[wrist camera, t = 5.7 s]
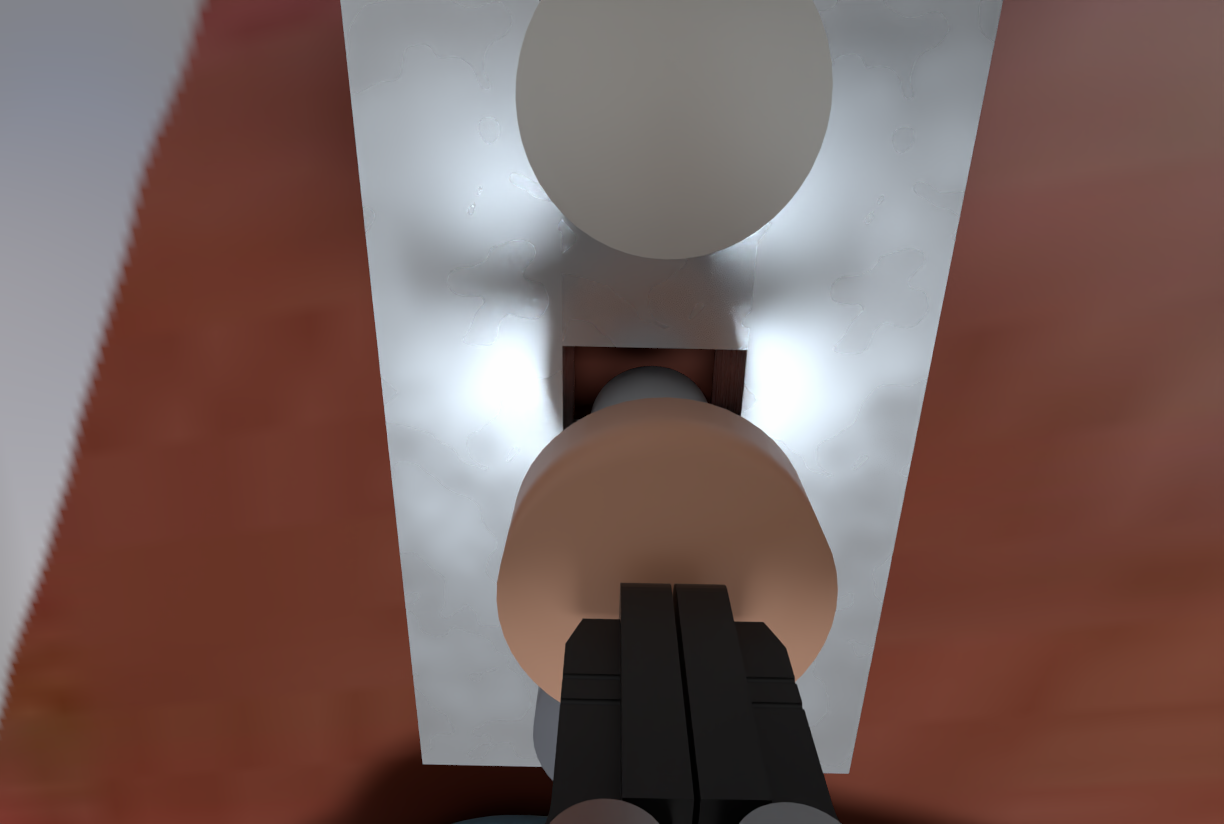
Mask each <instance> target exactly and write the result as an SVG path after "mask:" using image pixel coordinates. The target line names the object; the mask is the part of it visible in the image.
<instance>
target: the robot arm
mask: <svg viewBox="0 0 1224 824" xmlns="http://www.w3.org/2000/svg"><path fill="white" fill-rule="evenodd" d="M545 824H841V823H840V821H839V820H838V818H837V816H836V813H835V810H834V808H833V805H832V802H831V798H830V795H829V791H828V788H827V785H826V781H825V778H824V774H823V771H822V768H821V764H820V761H819V757H818V754H817V751H816V747H815V744H814V740H813V737H812V734H811V730H810V727H809V723H808V720H807V717H806V713H805V710H804V709H803V708H802V700H801V696H800V693H799V690H798V686H797V684H795V676H794V673H793V669H792V666H791V662H790V659H789V656H788V652H787V649H786V647H785V646H784V645H783V644H782V642H781V641H780V640H779V639H778V638H777V637H776V636H775V634H774V633H773V632H772V631H771V630H770V629H769V627H768V626H767V625H766V624H765V623H764V622H741V621H734V618H733V614H732V609H731V604H730V600H729V595H728V591H727V587H726V585H720V584H674V587H673V595H672V587H671V584H663V583H620V604H619V619H587V618H583V619H582V620H581V622H580V623H579V624H578V626H577V627H576V629H575V630H574V632H573V633H572V635H571V636H570V638H569V639H568V640H567V642H566V643H565V654H564V665H563V679H562V687H561V700H560V710H559V721H558V732H557V743H556V754H555V766H554V777H553V788H552V799H551V805H550V811H549V814H548V817H547V820H546V822H545Z"/></svg>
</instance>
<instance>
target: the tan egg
mask: <svg viewBox="0 0 1224 824" xmlns="http://www.w3.org/2000/svg"><path fill="white" fill-rule="evenodd" d="M620 583H663V584H671V587H672V595H673V587H674V584H720V585H726V587H727V591H728V595H729V600H730V604H731V609H732V614H733V618H734V621H741V622H764V623H765V624H766V625H767V626H768V627H769V629H770V630H771V631H772V632H773V633H774V634H775V636H776V637H777V638H778V639H779V640H780V641H781V642H782V644H783V645H784V646H785V647H786V649H787V652H788V656H789V659H790V662H791V666H792V669H793V673H794V676H795V682H796V681H797V680H798V679H799V678H800V677H801V676H802V675H803V674H804V672H805V671H806V670H807V669H808V667H809V666H810V665H811V664H812V662H813V661H814V660H815V659H816V657H817V655H818V654H819V652H820V650H821V649H822V647H823V645H824V644H825V641H826V639H827V637H828V634H829V632H830V629H831V627H832V624H833V620H834V616H835V612H836V606H837V595H838V584H837V571H836V567H835V563H834V559H833V555H832V552H831V549H830V547H829V545H828V542H827V540H826V537H825V535H824V533H823V531H822V528H821V526H820V524H819V521H818V519H817V517H816V515H815V512H814V510H813V508H812V506H811V503H810V501H809V499H808V497H807V494H806V492H805V490H804V488H803V485H802V483H801V481H800V479H799V476H798V474H797V472H796V470H795V468H794V467H793V465H792V463H791V462H790V460H789V459H788V457H787V455H786V454H785V453H784V452H783V451H782V449H781V448H780V447H779V446H778V445H777V444H776V442H775V441H774V440H772V439H771V438H770V437H769V436H768V435H767V434H766V433H765V432H764V431H762V430H761V429H760V428H758V427H757V426H755V425H754V424H752V423H751V422H749V421H748V420H746V419H745V418H743V417H741V416H739V415H737V414H735V413H733V412H731V411H729V410H726V409H723V408H721V407H718V406H715V405H712V404H709V403H707V400H706V398H705V396H704V394H703V393H702V391H701V390H700V388H699V387H698V386H697V385H696V384H695V383H694V382H693V381H692V380H691V379H689V378H688V377H687V376H685V375H684V374H682V373H680V372H678V371H675V370H672V369H669V368H665V367H660V366H643V367H637V368H633V369H630V370H627V371H625V372H623V373H621V374H619V375H617V376H616V377H614V378H613V379H611V380H610V381H609V382H608V383H607V384H606V385H605V386H604V387H603V388H602V389H601V391H600V392H599V393H598V395H597V397H596V399H595V401H594V404H593V406H592V410H591V414H589V415H587V416H585V417H583V418H582V419H580V420H578V421H577V422H575V423H573V424H571V425H570V426H569V427H567V428H566V429H565V430H563V431H562V432H561V433H560V434H558V435H557V436H556V437H555V438H554V439H553V440H552V441H551V442H550V443H549V444H548V445H547V446H546V447H545V448H544V449H543V450H542V451H541V452H540V454H539V455H538V456H537V458H536V459H535V460H534V462H533V463H532V464H531V466H530V468H529V470H528V472H527V473H526V475H525V477H524V479H523V481H522V484H521V487H520V489H519V492H518V495H517V498H516V502H515V506H514V511H513V515H512V519H511V523H510V527H509V531H508V536H507V540H506V544H505V548H504V552H503V556H502V560H501V565H500V570H499V575H498V580H497V599H496V601H497V609H498V617H499V621H500V625H501V628H502V632H503V635H504V638H505V640H506V642H507V644H508V646H509V648H510V650H511V653H512V654H513V656H514V657H515V659H516V660H517V662H518V663H519V665H520V666H521V668H522V669H523V670H524V671H525V672H526V673H527V675H528V676H529V677H530V678H531V679H532V680H533V681H534V682H535V683H536V684H537V685H538V686H539V687H540V688H541V689H543V690H544V691H545V692H546V693H547V694H548V695H550V696H551V697H553V698H554V699H556V700H557V701H558V702H560V700H561V687H562V679H563V665H564V654H565V643H566V642H567V640H568V639H569V638H570V636H571V635H572V633H573V632H574V630H575V629H576V627H577V626H578V624H579V623H580V622H581V620H582V619H583V618H587V619H619V604H620Z"/></svg>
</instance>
